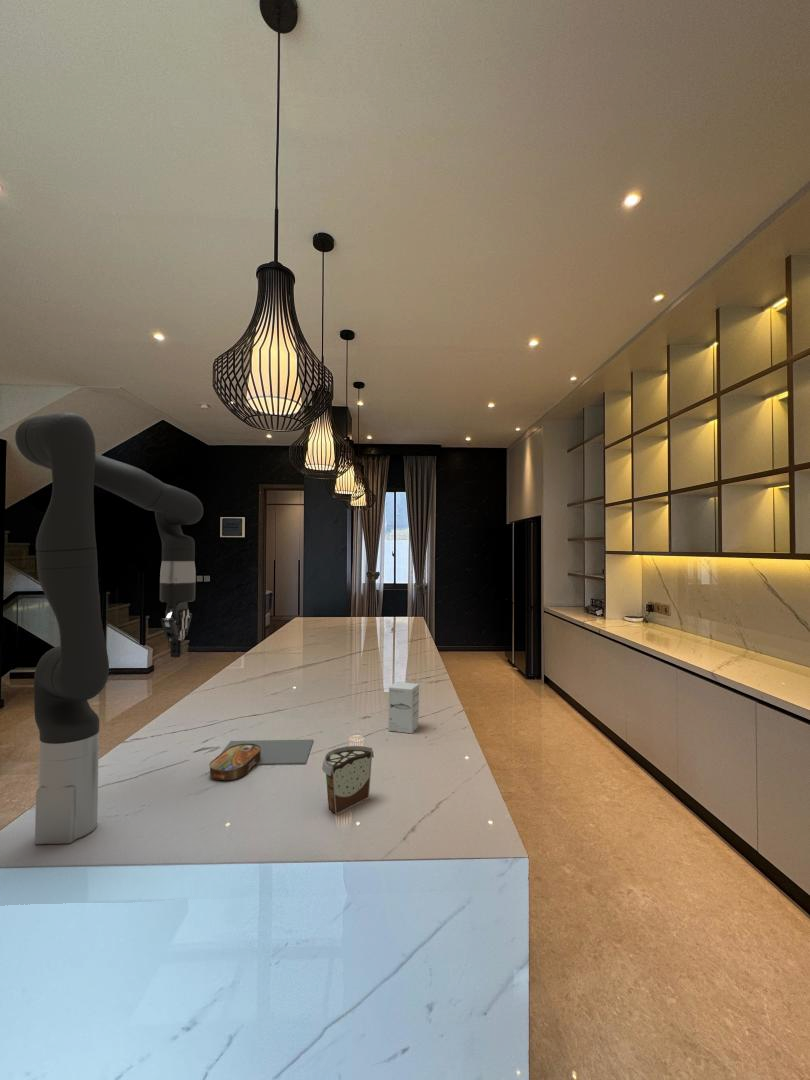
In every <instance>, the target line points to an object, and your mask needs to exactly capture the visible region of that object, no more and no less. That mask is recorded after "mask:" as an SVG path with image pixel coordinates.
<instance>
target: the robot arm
mask: <svg viewBox="0 0 810 1080" xmlns="http://www.w3.org/2000/svg"><path fill="white" fill-rule="evenodd" d="M14 439H15V440H14V441H15V444H16V446H17V450H18V451H19V453H21V455H22V456H23V457H24V458H25V459H26V460H27V461H29V462H31V463H33V464H34V465H37V466H39V467H40V466H41V467H42V468H46V469H48V470H51V477H52V478H51V479H52V480H51V481H52V488H51V489H52V490H51V498H50V501H49V504H48V506H47V509H46V512H45V514H44V516H43V518H42V521H41V523H40V526H39V529H38V532H37V535H36V540H35V541H36V542H35V551H36V552H35V554H36V555H35V556H36V569H37V576H38V581H39V584H40V586H41V589H42V592H43V594H44V596H45V598H46V600H47V602H48V604H49V607H51V610H52V611H53V614H54V616H55V618H56V622H57V626H58V630H59V638H60V639H59V642H60V645H58V646H55V647H53V648H50V649H49V650H47V651H46V652H45V653H44V654H43V655H42V656H41V657H40V659H39V660H38V662H37V664H36V667H35V670H34V675H33V676H34V677H33V678H34V679H33V704H34V705H33V708H34V710H33V711H34V721H35V724H36V726H37V729H38V730H39V731H38V733H39V747H38V749H39V753H38V786H37V788H36V789H35V790H36V791H35V817H34V818H35V823H34V824H35V826H34V829H35V831H34V844H35V845H46V844H47V845H50V844H51V845H52V844H53V845H55V844H72V843H73V842H74V841H75V840H78V839H80V838H82V837H85V836H86V835H88V834H90V833H91V832H93V831H94V830H95V829H96V828H97V825H98V813H99V812H98V811H99V810H98V809H99V799H98V798H99V761H100V760H99V758H100V757H99V756H100V755H99V754H100V750H99V749H100V748H99V747H100V719H99V715H98V714H97V713H96V711H94V710H93V708H92V707H91V705H90V704H89V701H88V700H91V699H94V698H95V697H96V696H98V695H99V694H100V693H101V692H102V690H103V689H104V688H105V686H106V684H107V682H108V678H109V674H110V673H109V672H110V662H109V661H110V660H109V655H108V650H107V645H106V638H105V634H104V633H105V632H104V629H103V628H104V627H103V624H102V623H103V622H102V613H101V611H102V610H101V600H100V589H99V576H98V575H99V565H98V549H97V540H96V538H97V537H96V529H95V528H96V525H95V524H96V523H95V503H94V500H95V498H94V488H95V486H97V487H99V488H101V489H103V490H105V491H108V492H110V493H112V494H114V495H116V496H118V497H121V498H122V499H124V500H126V501H128V502H130V503H132V504H133V505H135V506H138V507H139V508H142V509H144V510H147V511H150V512H154V517H155V523H156V526H157V530H158V534H159V537H160V540H161V563H160V564H161V565H160V573H159V575H160V576H159V601H160V602H161V603H166V609H165V618H163V617H162V618H161V619H160V625H161V627H162V629H163V632H164V636H165V638H166V639H167V640H169V641H170V657H171V658H180V657H182V656H183V655H184V654H183V653H184V651H183V648H184V646H183V645H184V640H185V637H186V636H187V635H188V633H189V628H190V625H191V620H192V618H193V613H192V612H190V610H189V606H188V605H189V604H188V603H190V602H194V601H195V600H196V577H197V576H196V573H197V571H196V563H195V559H196V556H195V555H196V542H195V539H194V538H193V536H189V535H185V534H184V532H183V529H182V526H188V525H190V526H191V525H194V524H196V523H198V522H199V521H200V520H201V519H202V517H203V516H204V507H203V506H204V505H203V503H202V501H201V500H200V499H199V498H198V496H196V495H195V494H193V493H191V492H189V491H188V490H184V489H182V488H179V487H178V486H174V485H171V484H168V483H165V482H163V481H162V480H160V479H159V478H158V477H157V478H156V477H155V476H153V475H152V474H150V473H148V472H146V471H145V470H142V469H141V468H138V467H136V466H134V465H131V464H128V463H126V462H122V461H118V460H116V459H113V458H109V457H107V456H104V455H101V454H99V453H97V452H96V439H95V435H94V432H93V429H92V426H91V425H90V424H89V422H88V421H87V420H86V419H85V418H83V416H81V415H79V414H78V413H75V412H56V413H49V414H43V415H37V416H34V417H30V418H28V419H25V420H24V421H23V422H21V423H20V424H19V425H18V427H17V428H16V430H15V436H14Z"/></svg>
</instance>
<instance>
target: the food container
mask: <svg viewBox="0 0 810 1080" xmlns="http://www.w3.org/2000/svg"><path fill="white" fill-rule="evenodd" d="M374 757H375V755H374V750H373V748H372V747H369V746H362V745H348V746H342V747H337V748H334V749H332V750H330V751H328V752H327V753H326V754H325V756H324V758H323V762H322V765H321V768H322V769H321V770H322V771H323V773H324V774H325V778H326V781H325V782H326V790H327V791H326V792H327V794H326V795H327V803H328V805H327V806H328V811H329V812H330V811H331V812H332V813H331V812H330V813H331V814H333V815H334V814H335V816H337V815H339V814H341V813H343V812H345V811H347V810H349V809H351V808H353V807H354V805H355V806H356V804H357V803H359V802H361V801H363V800H365V799H366V798H368V797H369V798H370V788H371V775H372V761H373V758H374ZM369 798H368V799H369ZM365 801H366V800H365ZM363 802H364V801H363ZM361 803H362V802H361ZM359 804H360V803H359ZM357 805H358V804H357ZM352 806H353V807H352ZM350 807H351V808H350ZM348 808H349V809H348ZM346 809H347V810H346ZM344 810H345V811H344ZM342 811H343V812H342ZM340 812H341V813H340ZM338 813H339V814H338ZM336 814H337V815H336Z"/></svg>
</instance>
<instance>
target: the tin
mask: <svg viewBox="0 0 810 1080" xmlns="http://www.w3.org/2000/svg"><path fill="white" fill-rule="evenodd" d="M221 753H222V752H221ZM221 753H220V754H219V755H217V756H216V757H215V758H214V759H213V760H211V761H210V762H209V776H210V777H211V778H212V779H213V780H218V781H219V780H220V781H234V780H237V779H240V778H242V777H244V776H245V775H246V774H247V773H248V772H249V771H250V770H251V769H252V768H253V767H254V766H256V765H255V764H256V763H257V762H258V761H259V760H260V756H261V747H260V746H258V745H256V744H250V743H246V744H238V745H234V746H232V747H229V748H228V749H226V750H225V751H224V752H223V753H222V754H221Z"/></svg>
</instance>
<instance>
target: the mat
mask: <svg viewBox="0 0 810 1080" xmlns="http://www.w3.org/2000/svg"><path fill="white" fill-rule="evenodd" d="M246 743H250V744H256V745H258V746H260V747H261V756H260V760H259V761H258V762H257V763H256V764H255V765H254V766H276V764H289V765H306V764H307V762H308V758H309V755H310V752H311V751H312V750H311V749H312V746H313V743H314V739H268V740H267V739H263V740H261V739H260V740H255V739H254V740H230V741H229V743H228V744H226V746H225V747H224V749H223V750H222V751H221V753H220V754H222V753H223V752H224V751H225V750H226V749H228V748H229V747H232V746H234V745H238V744H246Z"/></svg>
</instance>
